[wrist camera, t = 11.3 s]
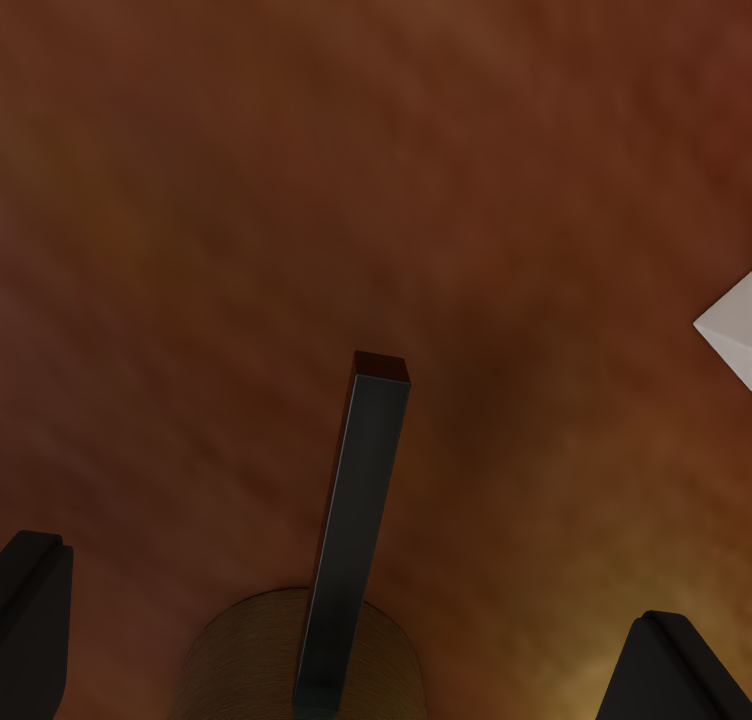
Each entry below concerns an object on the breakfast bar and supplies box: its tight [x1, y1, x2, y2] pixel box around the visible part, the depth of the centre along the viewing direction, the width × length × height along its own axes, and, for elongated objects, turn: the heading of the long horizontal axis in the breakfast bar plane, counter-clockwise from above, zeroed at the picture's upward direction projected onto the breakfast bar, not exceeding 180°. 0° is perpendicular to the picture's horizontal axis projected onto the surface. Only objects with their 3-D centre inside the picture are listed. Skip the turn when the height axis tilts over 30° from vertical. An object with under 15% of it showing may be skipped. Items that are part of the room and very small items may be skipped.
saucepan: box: [167, 351, 427, 720], centre depth 20 cm, size 21×10×9 cm, turn 169°
